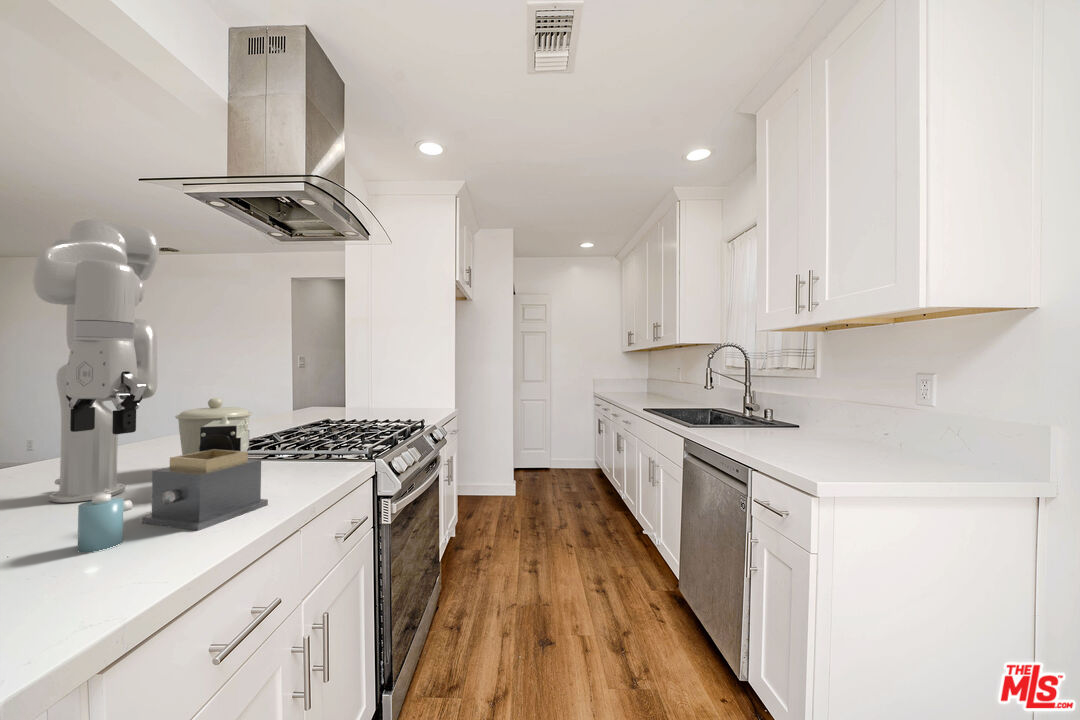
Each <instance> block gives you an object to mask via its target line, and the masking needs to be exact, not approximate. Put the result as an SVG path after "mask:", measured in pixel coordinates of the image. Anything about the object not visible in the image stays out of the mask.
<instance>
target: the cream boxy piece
mask: <svg viewBox="0 0 1080 720" xmlns="http://www.w3.org/2000/svg"><path fill="white" fill-rule="evenodd" d="M246 427H249V423H246V420H245V419H240V420H227V416H223V417H222V420H214V421H212V422H210V423H208V424H206V425H205V426H203V427H201V430H200V446H199V451H200V452H201V451H206V450H212V449H218V450H231V451H244V452H247V450H248V449H249V448H250V430H249V429H248V430H245V428H246Z"/></svg>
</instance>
